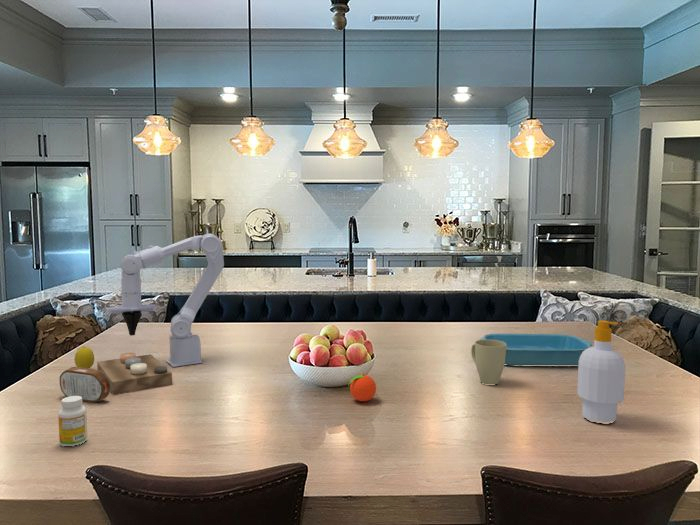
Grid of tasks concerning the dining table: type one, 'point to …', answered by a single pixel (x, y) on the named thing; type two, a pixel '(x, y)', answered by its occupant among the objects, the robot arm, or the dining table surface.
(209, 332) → the dining table surface
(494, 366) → the mug
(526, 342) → the casserole dish
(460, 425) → the dining table surface
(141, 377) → the board
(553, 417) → the dining table surface
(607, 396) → the soap bottle
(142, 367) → the knob cream
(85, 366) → the lemon
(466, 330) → the dining table surface
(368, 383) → the clementine
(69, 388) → the tin
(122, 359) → the peach pink ball
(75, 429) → the supplement bottle
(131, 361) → the knob slate
